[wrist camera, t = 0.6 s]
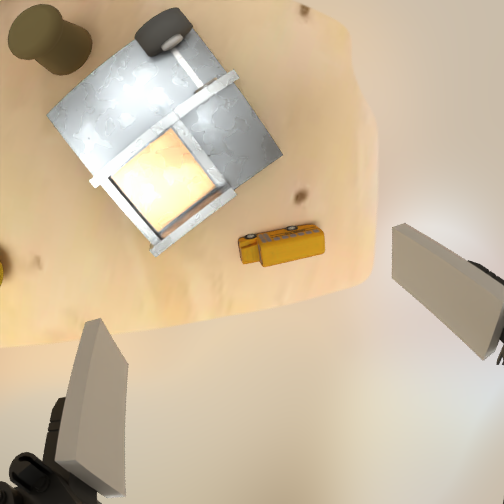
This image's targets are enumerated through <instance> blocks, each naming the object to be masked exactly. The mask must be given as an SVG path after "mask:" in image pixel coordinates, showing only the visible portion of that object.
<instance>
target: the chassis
mask: <svg viewBox="0 0 504 504" xmlns="http://www.w3.org/2000/svg"><path fill="white" fill-rule="evenodd" d="M239 78H240V77H239V76H238V75H237V73H236V72H235V70H234V69H233V70H232V71H230V72H228V73H226V71H225V70H224V68H223V67H222V66H221V64H220V63H219V62H218V60H217V59H216V58H215V56H214V55H213V54H212V52H211V51H210V50H209V49H208V47H207V46H206V45H205V43H204V42H203V41H202V39H201V38H200V37H199V36H198V34H197V33H196V32H195V31H194V29H193V28H192V29H191V31H190V32H189V33H188V34H187V35H185V36H184V37H183V39H182V41H181V42H179V43H178V44H177V45H175V46H174V47H172V48H171V49H169V50H167V51H163V52H161V53H159V54H157V55H154V56H148V55H147V53H146V52H145V51H144V50H143V48H142V47H141V46H140V45H139V43H138V42H137V41H136V40H133V41H132V42H130V43H129V44H128V45H126V46H125V47H123V48H122V49H121V50H119V51H118V52H117V53H116V54H114V55H113V56H112V57H110V58H109V59H108V60H107V61H105V62H104V63H103V64H102V65H100V66H99V67H98V68H97V69H95V70H94V71H93V72H92V73H91V74H90V75H88V76H87V77H86V78H85V79H84V80H83V81H82V82H80V83H79V84H78V85H77V86H76V87H75V88H74V89H73V90H72V91H70V92H69V93H68V94H67V95H66V96H65V97H64V98H63V99H62V100H61V101H60V102H59V103H58V104H57V105H56V106H55V107H54V108H53V109H52V110H51V111H50V112H49V113H48V114H47V117H48V118H49V119H50V121H51V122H52V123H53V125H54V126H55V127H56V129H57V130H58V131H59V133H60V134H61V135H62V137H63V138H64V139H65V141H66V142H67V143H68V144H69V146H70V147H71V148H72V150H73V151H74V152H75V153H76V155H77V156H78V157H79V158H80V160H81V161H82V162H83V163H84V165H85V166H86V167H87V168H88V170H89V171H90V172H91V173H92V175H93V176H94V177H93V178H92V179H91V180H90V183H91V184H92V185H93V186H94V188H96V187H98V186H99V185H100V184H101V186H102V187H103V188H104V189H105V190H106V192H107V193H108V194H109V195H110V196H111V198H112V199H113V200H114V201H115V202H116V203H117V205H118V206H119V207H120V208H121V209H122V210H123V212H124V213H125V214H126V215H127V216H128V217H129V219H130V220H131V221H132V222H133V223H134V224H135V225H136V227H137V228H138V229H139V230H140V231H141V232H142V233H143V235H144V236H145V237H146V238H147V239H148V240H149V241H150V242H151V244H150V250H149V251H150V252H151V253H152V254H153V255H154V256H155V257H157V256H158V255H159V254H161V253H162V252H163V251H164V250H166V249H167V248H168V247H169V246H171V245H172V244H173V243H174V242H176V241H177V240H178V239H180V238H181V237H182V236H183V235H185V234H186V233H187V232H189V231H190V230H191V229H193V228H194V227H195V226H196V225H198V224H199V223H200V222H202V221H203V220H204V219H206V218H207V217H208V216H210V215H211V214H212V213H214V212H215V211H216V210H218V209H219V208H220V207H222V206H223V205H224V204H226V203H227V202H228V201H230V200H231V199H232V198H234V197H235V196H236V195H237V194H236V193H235V192H234V190H235V189H236V188H237V187H239V186H240V185H241V184H243V183H244V182H246V181H247V180H248V179H250V178H251V177H253V176H254V175H255V174H257V173H258V172H260V171H261V170H262V169H264V168H265V167H267V166H268V165H269V164H271V163H272V162H274V161H275V160H277V159H278V158H279V157H281V156H282V155H283V154H282V152H281V151H280V149H279V148H278V146H277V145H276V143H275V142H274V140H273V139H272V137H271V136H270V134H269V133H268V131H267V130H266V128H265V127H264V125H263V124H262V122H261V121H260V119H259V118H258V116H257V115H256V113H255V112H254V110H253V109H252V108H251V106H250V105H249V103H248V102H247V100H246V99H245V98H244V96H243V95H242V93H241V92H240V90H239V89H238V88H237V86H236V85H235V84H234V81H236V80H237V79H239Z"/></svg>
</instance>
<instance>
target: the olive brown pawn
mask: <svg viewBox="0 0 504 504" xmlns="http://www.w3.org/2000/svg"><path fill="white" fill-rule="evenodd" d="M8 45H9V48H10V50H11V52H12V53H13V55H15V56H16V57H18V58H20V59H25V60H31V59H35V60H36V61H37V62H39V63H40V64H41V65H42V66H44V67H45V68H46V69H47V70H49V71H50V72H51V73H53V74H56V75H67V74H70V73H72V72H74V71H76V70H77V69H79V68H80V67H81V66H82V65H83V64H84V63H85V61H86V60H87V59H88V57H89V54H90V52H91V48H92V40H91V36H90V34H89V33H88V31H87V30H85V29H83V28H82V27H80V26H77V25H75V24H72V23H70V22H67V21H65V20H63V19H62V15H61V14H60V12H59V11H58V10H57V9H56V8H55V7H53V6H51V5H46V4H39V5H35V6H32V7H30V8H28V9H27V10H25V11H23V12H22V13H21V14H20V15H19V16H18V17H17V18H16V19H15V21H14V22H13V24H12V26H11V28H10V30H9V35H8Z"/></svg>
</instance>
